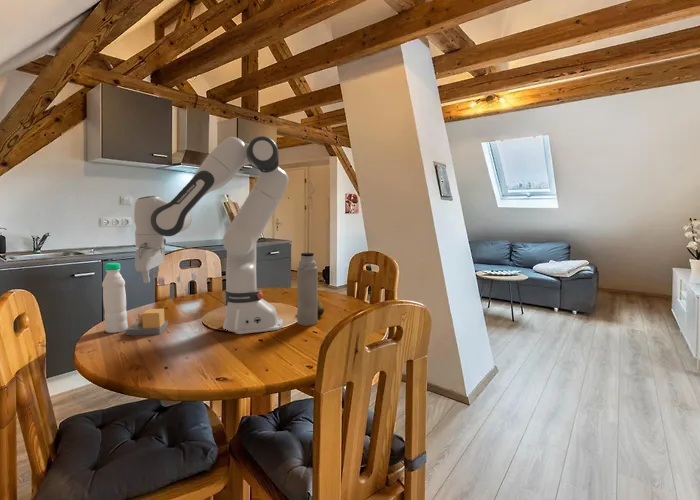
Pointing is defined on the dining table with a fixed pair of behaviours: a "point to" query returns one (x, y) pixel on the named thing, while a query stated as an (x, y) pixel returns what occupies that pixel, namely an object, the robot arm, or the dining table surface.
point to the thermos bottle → (307, 290)
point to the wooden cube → (153, 318)
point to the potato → (319, 308)
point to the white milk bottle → (114, 299)
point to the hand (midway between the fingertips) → (151, 279)
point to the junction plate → (139, 330)
